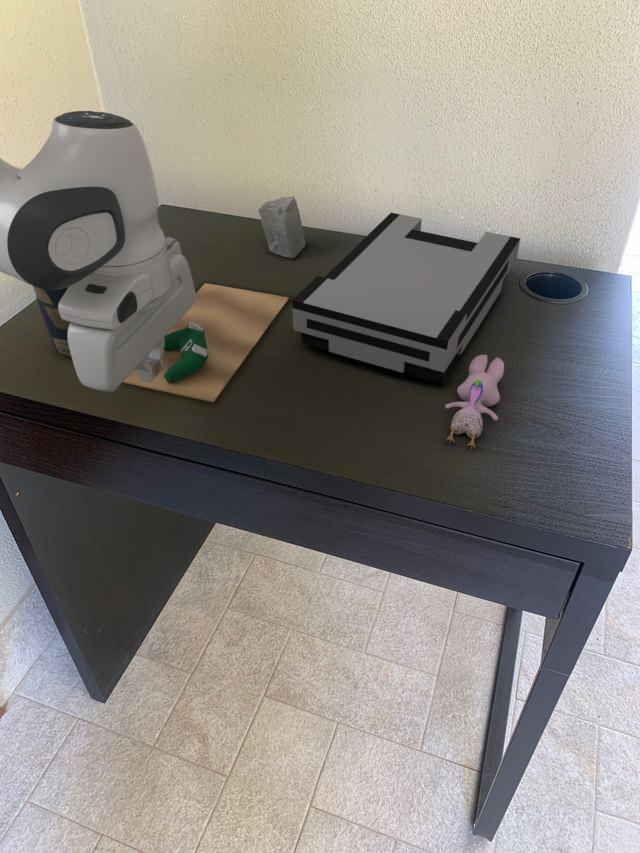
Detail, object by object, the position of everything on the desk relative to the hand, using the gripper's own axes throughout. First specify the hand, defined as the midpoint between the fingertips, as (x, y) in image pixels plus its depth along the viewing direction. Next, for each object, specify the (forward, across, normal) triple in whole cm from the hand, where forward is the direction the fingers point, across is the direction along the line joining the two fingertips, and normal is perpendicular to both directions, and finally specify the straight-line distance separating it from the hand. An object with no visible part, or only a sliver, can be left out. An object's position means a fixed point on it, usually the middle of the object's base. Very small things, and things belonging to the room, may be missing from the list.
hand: (152, 374), depth 82 cm
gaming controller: (+4, -8, 0) cm, 9 cm away
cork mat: (+4, -15, 0) cm, 15 cm away
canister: (+4, -8, -15) cm, 18 cm away
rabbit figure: (+4, -11, +38) cm, 39 cm away
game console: (+4, -29, +25) cm, 39 cm away
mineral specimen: (+4, -43, 0) cm, 43 cm away
